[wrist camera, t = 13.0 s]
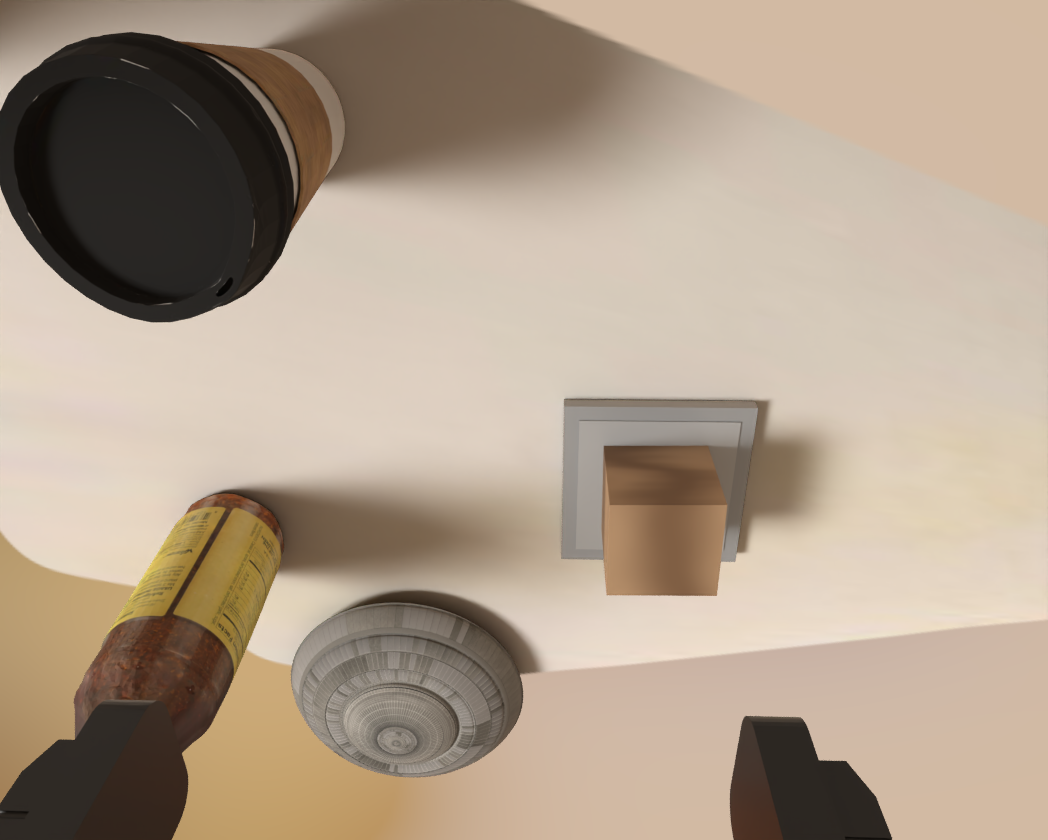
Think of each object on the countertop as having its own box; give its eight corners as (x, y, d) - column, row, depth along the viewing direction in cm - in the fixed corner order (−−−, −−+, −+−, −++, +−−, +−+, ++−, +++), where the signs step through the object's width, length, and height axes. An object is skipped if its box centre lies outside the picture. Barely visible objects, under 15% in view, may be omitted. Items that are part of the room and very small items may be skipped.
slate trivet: (561, 550, 47) (561, 559, 46) (564, 399, 42) (564, 407, 42) (732, 552, 47) (735, 562, 46) (754, 401, 42) (758, 409, 41)
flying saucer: (569, 658, 52) (570, 728, 47) (445, 779, 58) (435, 851, 53) (368, 547, 48) (347, 610, 43) (259, 689, 54) (229, 758, 49)
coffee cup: (297, 249, 39) (164, 386, 26) (149, 118, 36) (-83, 195, 23) (412, 123, 36) (328, 204, 23) (260, -32, 33) (65, -40, 20)
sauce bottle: (180, 558, 48) (-30, 882, 31) (188, 475, 45) (-40, 781, 28) (288, 583, 49) (141, 914, 32) (302, 503, 46) (148, 819, 29)
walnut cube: (601, 529, 45) (606, 595, 40) (603, 445, 43) (609, 505, 38) (699, 529, 45) (716, 595, 40) (708, 445, 42) (727, 505, 37)
